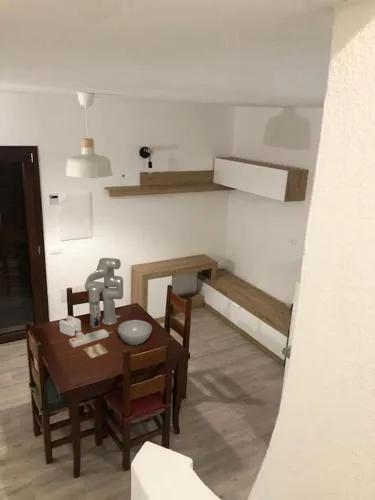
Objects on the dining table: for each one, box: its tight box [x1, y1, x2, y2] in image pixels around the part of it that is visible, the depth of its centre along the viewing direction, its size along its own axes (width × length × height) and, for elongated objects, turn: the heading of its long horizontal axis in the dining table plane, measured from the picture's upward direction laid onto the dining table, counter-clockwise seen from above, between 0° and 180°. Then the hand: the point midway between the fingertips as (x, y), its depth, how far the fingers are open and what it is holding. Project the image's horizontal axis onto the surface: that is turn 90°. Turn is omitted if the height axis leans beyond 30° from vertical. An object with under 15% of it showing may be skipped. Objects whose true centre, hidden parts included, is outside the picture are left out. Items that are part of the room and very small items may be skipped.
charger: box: [89, 316, 100, 329], centre depth 302 cm, size 5×5×8 cm
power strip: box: [68, 328, 114, 348], centre depth 325 cm, size 36×8×8 cm, turn 127°
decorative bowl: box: [117, 319, 153, 346], centre depth 324 cm, size 27×27×12 cm
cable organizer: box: [58, 315, 82, 337], centre depth 332 cm, size 15×11×12 cm
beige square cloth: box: [82, 343, 109, 359], centre depth 310 cm, size 14×14×1 cm
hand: (94, 323), depth 302 cm, fingers closed on charger, 5 cm apart
